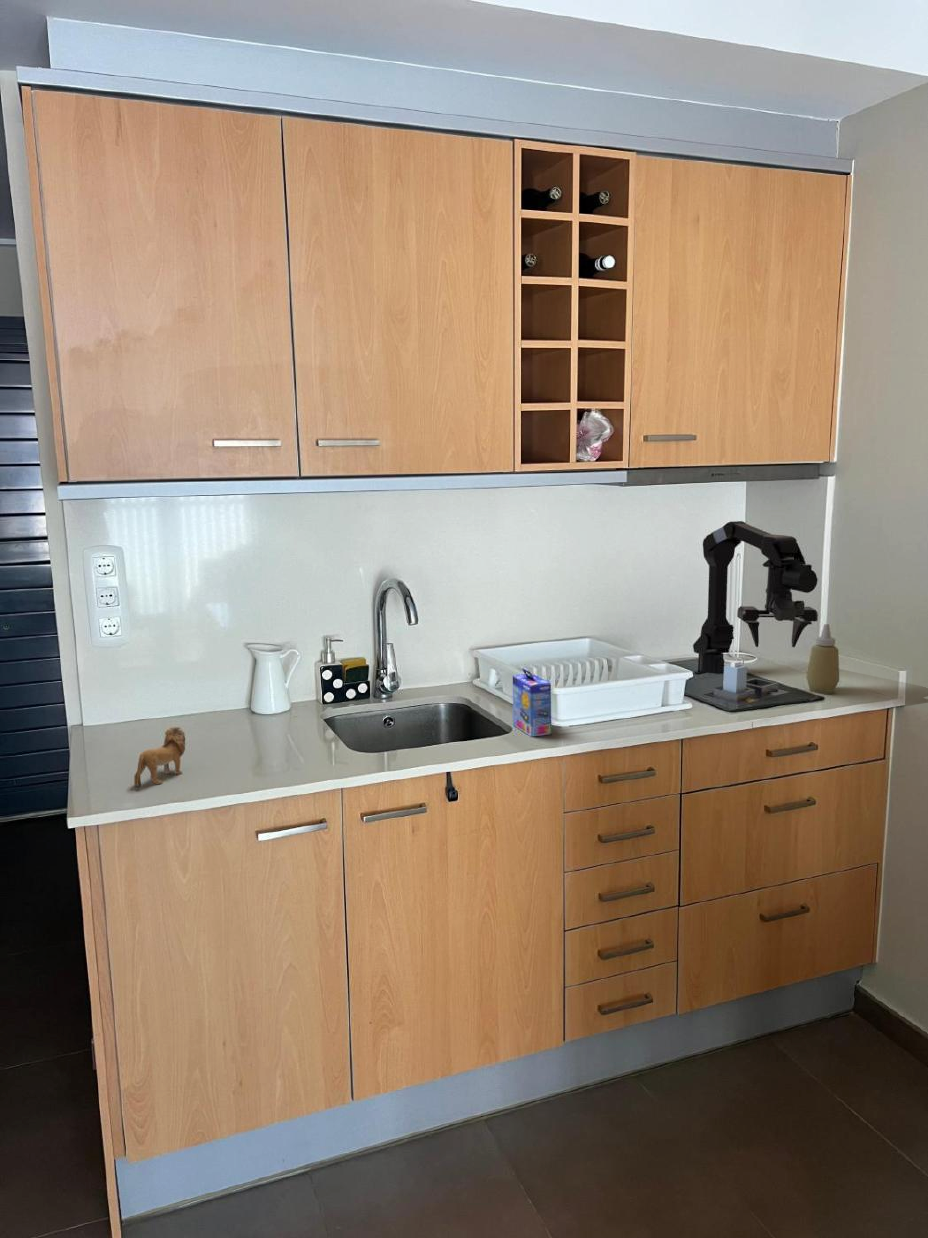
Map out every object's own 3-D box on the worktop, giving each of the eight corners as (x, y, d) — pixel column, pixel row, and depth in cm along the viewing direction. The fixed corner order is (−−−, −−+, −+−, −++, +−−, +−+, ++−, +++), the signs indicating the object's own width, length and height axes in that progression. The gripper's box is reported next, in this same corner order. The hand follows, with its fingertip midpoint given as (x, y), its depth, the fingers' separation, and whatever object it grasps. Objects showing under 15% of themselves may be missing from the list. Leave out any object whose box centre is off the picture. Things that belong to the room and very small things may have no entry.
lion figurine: (171, 765, 194) (168, 723, 192) (193, 767, 193) (191, 725, 191) (126, 790, 180) (123, 745, 178) (150, 793, 179) (147, 747, 177)
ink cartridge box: (511, 725, 220) (511, 665, 217) (532, 722, 222) (532, 662, 219) (530, 737, 211) (531, 675, 208) (552, 734, 213) (553, 672, 210)
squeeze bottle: (798, 689, 249) (803, 623, 246) (821, 686, 253) (826, 620, 249) (821, 697, 242) (826, 628, 239) (845, 693, 246) (850, 626, 242)
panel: (702, 698, 241) (702, 687, 241) (750, 686, 253) (750, 675, 253) (741, 709, 232) (741, 697, 231) (789, 695, 244) (790, 684, 243)
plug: (722, 696, 240) (724, 661, 238) (732, 693, 242) (734, 659, 241) (735, 699, 237) (737, 664, 235) (745, 696, 239) (747, 662, 237)
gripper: (750, 591, 229) (746, 654, 232) (827, 592, 229) (822, 654, 232) (738, 584, 240) (734, 644, 243) (812, 584, 239) (807, 644, 243)
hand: (774, 647), depth 240 cm, fingers open, 9 cm apart
